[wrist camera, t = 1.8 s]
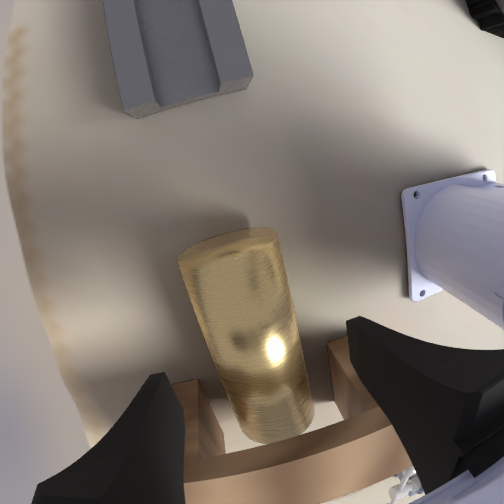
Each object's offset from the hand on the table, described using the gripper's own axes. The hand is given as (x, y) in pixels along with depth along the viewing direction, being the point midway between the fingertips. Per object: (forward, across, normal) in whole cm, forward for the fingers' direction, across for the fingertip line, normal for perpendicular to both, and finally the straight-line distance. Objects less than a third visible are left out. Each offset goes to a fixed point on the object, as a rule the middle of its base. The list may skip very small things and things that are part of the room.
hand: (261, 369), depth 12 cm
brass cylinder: (+8, 0, +2) cm, 8 cm away
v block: (+8, 0, -16) cm, 18 cm away
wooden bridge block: (+8, 0, +8) cm, 11 cm away
